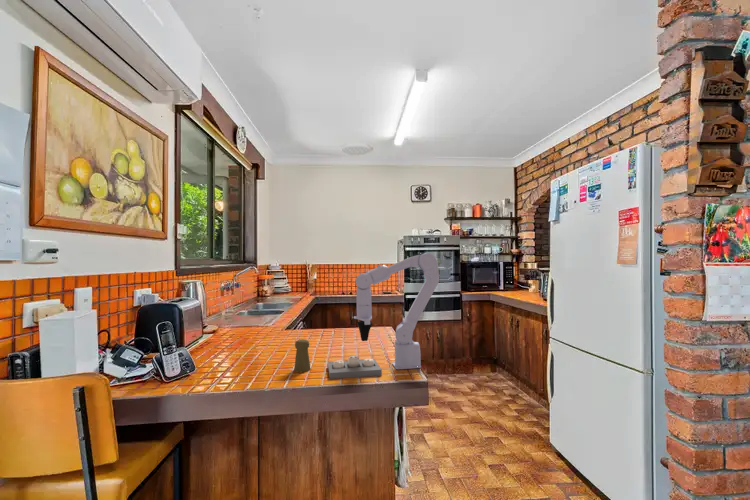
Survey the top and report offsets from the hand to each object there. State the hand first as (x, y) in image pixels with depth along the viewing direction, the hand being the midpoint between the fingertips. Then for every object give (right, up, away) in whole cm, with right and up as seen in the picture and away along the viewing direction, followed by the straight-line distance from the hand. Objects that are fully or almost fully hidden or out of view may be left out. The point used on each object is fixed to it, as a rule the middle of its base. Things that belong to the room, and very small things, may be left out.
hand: (364, 340), depth 141 cm
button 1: (+2, -9, -6) cm, 11 cm away
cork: (-23, -10, -4) cm, 25 cm away
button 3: (-9, -9, -8) cm, 15 cm away
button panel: (-4, -10, -7) cm, 12 cm away
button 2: (-4, -7, -7) cm, 11 cm away
